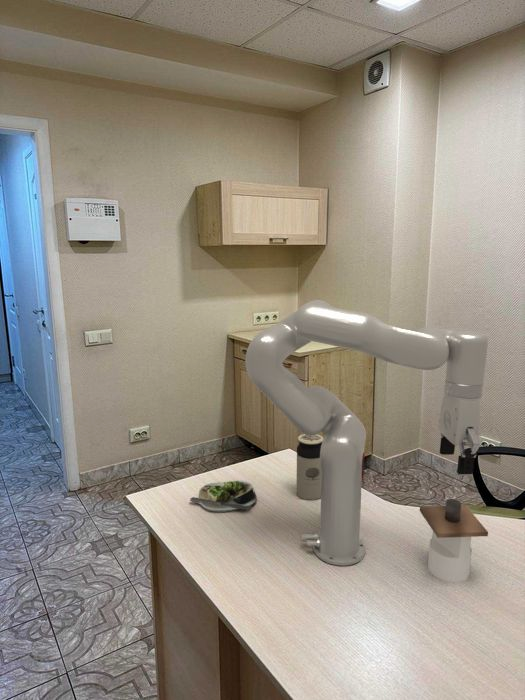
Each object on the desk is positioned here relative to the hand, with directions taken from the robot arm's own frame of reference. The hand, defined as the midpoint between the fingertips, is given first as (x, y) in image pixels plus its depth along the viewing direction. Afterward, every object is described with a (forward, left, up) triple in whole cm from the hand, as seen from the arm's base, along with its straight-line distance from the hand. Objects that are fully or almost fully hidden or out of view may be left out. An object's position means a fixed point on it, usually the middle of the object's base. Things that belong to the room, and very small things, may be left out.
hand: (455, 463), depth 109 cm
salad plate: (-52, +34, -27) cm, 67 cm away
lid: (0, 0, -14) cm, 14 cm away
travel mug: (-28, +36, -27) cm, 52 cm away
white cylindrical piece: (0, 0, -27) cm, 27 cm away
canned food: (-14, +44, -27) cm, 53 cm away
